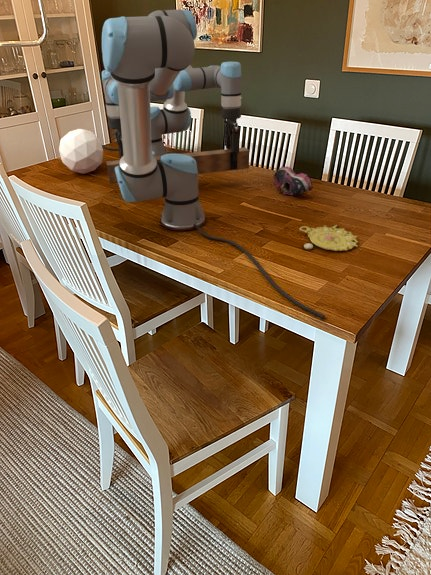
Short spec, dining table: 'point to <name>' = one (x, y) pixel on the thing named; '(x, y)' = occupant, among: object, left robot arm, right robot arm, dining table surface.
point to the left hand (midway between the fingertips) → (231, 166)
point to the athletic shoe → (292, 181)
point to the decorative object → (330, 238)
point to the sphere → (81, 151)
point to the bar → (200, 162)
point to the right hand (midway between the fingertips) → (126, 178)
